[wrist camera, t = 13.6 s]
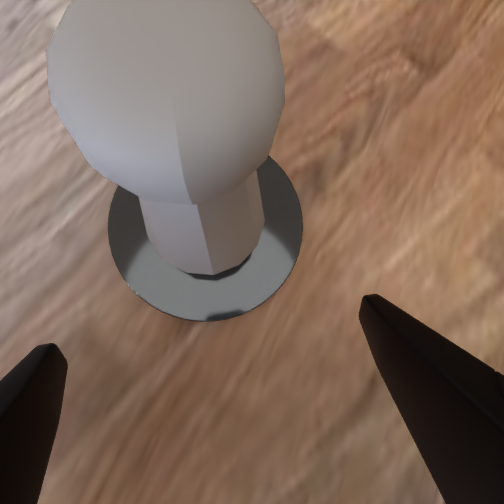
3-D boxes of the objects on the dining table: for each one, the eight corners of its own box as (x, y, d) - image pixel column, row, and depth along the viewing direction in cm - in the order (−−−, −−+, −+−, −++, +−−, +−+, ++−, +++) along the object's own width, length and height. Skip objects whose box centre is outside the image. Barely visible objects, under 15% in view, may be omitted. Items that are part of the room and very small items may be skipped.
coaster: (338, 232, 19) (341, 230, 18) (199, 363, 17) (198, 365, 17) (216, 102, 19) (216, 97, 19) (70, 216, 18) (65, 214, 17)
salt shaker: (135, 244, 17) (-127, 84, 4) (190, 160, 18) (104, -168, 5) (227, 297, 17) (229, 290, 4) (277, 210, 18) (397, -1, 5)
